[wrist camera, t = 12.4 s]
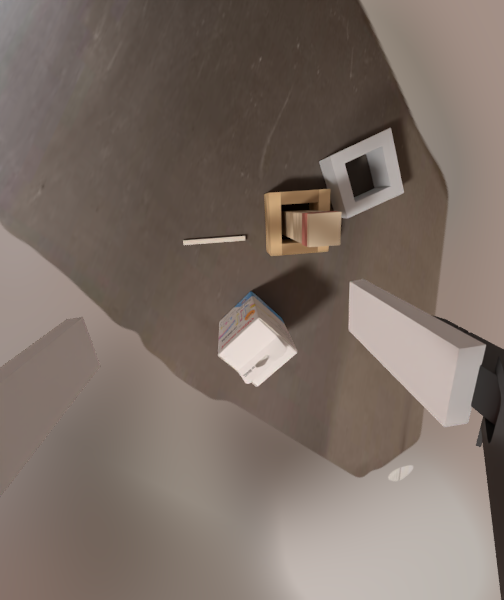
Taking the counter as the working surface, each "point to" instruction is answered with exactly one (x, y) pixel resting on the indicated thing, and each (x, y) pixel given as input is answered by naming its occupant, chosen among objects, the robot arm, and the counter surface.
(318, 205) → the wooden square frame
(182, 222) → the counter surface
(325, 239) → the red-banded tall box
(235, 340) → the ink box
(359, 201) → the grey square frame
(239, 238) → the thin white stick
